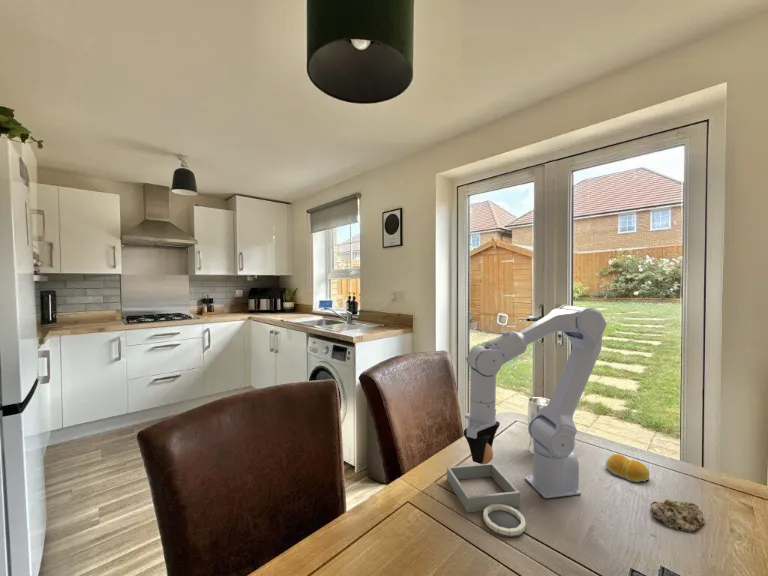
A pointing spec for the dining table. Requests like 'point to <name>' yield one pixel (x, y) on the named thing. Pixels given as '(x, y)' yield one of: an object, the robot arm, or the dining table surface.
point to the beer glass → (535, 413)
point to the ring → (504, 520)
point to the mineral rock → (678, 514)
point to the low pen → (482, 501)
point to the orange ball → (488, 454)
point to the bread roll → (627, 468)
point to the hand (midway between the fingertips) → (481, 456)
